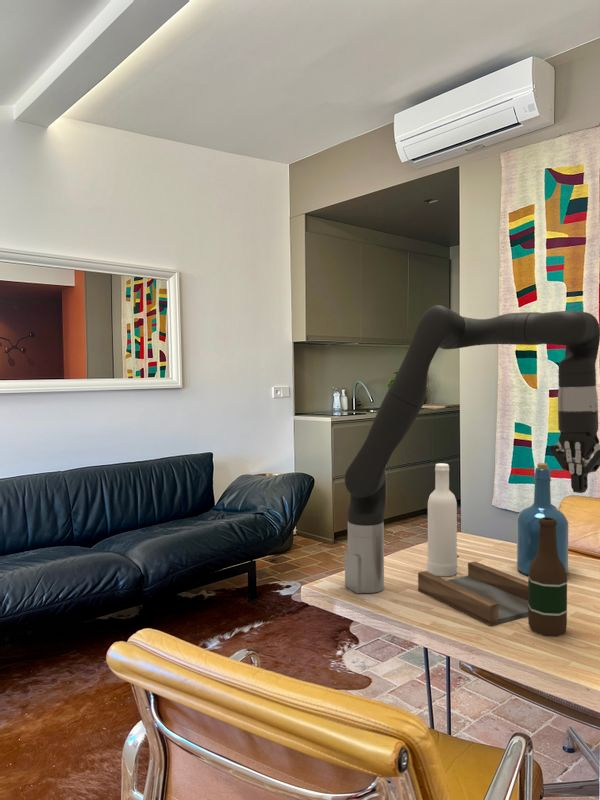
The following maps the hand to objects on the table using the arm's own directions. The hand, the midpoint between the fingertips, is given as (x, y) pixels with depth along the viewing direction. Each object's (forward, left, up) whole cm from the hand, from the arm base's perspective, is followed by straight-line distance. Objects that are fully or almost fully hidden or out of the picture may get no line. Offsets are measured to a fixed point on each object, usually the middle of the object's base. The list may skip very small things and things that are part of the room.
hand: (579, 492), depth 127 cm
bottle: (+2, +45, -30) cm, 54 cm away
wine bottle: (+26, +32, -30) cm, 51 cm away
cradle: (-3, +25, -30) cm, 39 cm away
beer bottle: (-3, +5, -30) cm, 31 cm away
